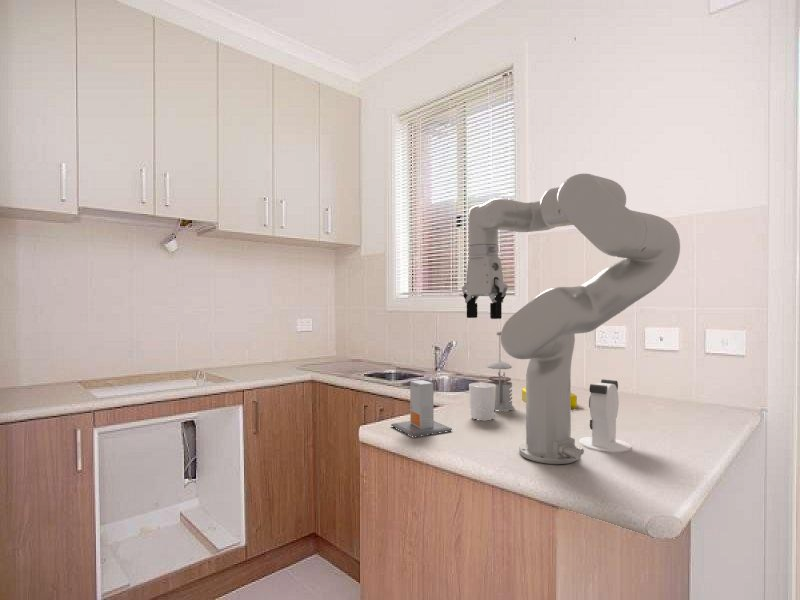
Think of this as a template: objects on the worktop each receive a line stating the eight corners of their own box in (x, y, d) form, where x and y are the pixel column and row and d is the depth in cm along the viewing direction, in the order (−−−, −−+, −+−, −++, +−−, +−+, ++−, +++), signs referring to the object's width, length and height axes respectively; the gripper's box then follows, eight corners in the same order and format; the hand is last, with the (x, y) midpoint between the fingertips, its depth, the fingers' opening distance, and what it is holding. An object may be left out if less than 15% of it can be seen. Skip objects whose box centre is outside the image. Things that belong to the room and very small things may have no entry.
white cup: (465, 419, 132) (465, 385, 132) (473, 414, 139) (473, 381, 139) (491, 423, 129) (491, 388, 129) (499, 416, 136) (498, 383, 136)
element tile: (579, 409, 147) (578, 394, 147) (533, 409, 147) (533, 394, 147) (562, 399, 162) (562, 386, 162) (520, 399, 162) (520, 386, 162)
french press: (512, 404, 152) (512, 330, 152) (518, 413, 140) (518, 332, 140) (483, 404, 153) (483, 330, 153) (486, 412, 141) (486, 332, 141)
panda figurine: (588, 434, 117) (587, 376, 117) (636, 443, 110) (636, 381, 110) (572, 445, 108) (572, 383, 108) (624, 455, 101) (623, 388, 101)
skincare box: (409, 424, 124) (409, 380, 124) (423, 422, 126) (423, 379, 126) (420, 429, 119) (420, 384, 119) (434, 427, 121) (434, 382, 121)
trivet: (451, 431, 120) (451, 428, 120) (413, 437, 114) (413, 434, 114) (427, 421, 131) (427, 418, 131) (391, 426, 125) (391, 423, 125)
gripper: (517, 250, 112) (517, 318, 112) (474, 256, 128) (474, 317, 127) (494, 248, 109) (494, 319, 109) (452, 255, 124) (452, 317, 124)
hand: (483, 318), depth 118 cm, fingers open, 9 cm apart
